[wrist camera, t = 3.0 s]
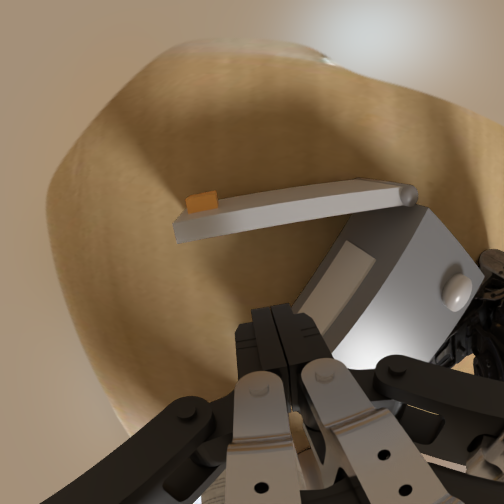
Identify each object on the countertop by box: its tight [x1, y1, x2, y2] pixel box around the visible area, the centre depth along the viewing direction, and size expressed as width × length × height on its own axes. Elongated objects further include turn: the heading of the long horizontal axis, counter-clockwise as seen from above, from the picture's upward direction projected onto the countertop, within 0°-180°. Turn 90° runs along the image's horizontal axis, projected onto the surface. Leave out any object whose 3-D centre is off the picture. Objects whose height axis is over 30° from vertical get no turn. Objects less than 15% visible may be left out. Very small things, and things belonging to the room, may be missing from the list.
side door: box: [172, 178, 418, 244], centre depth 15 cm, size 13×2×6 cm, turn 99°
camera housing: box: [290, 204, 485, 415], centre depth 18 cm, size 16×9×8 cm, turn 149°
